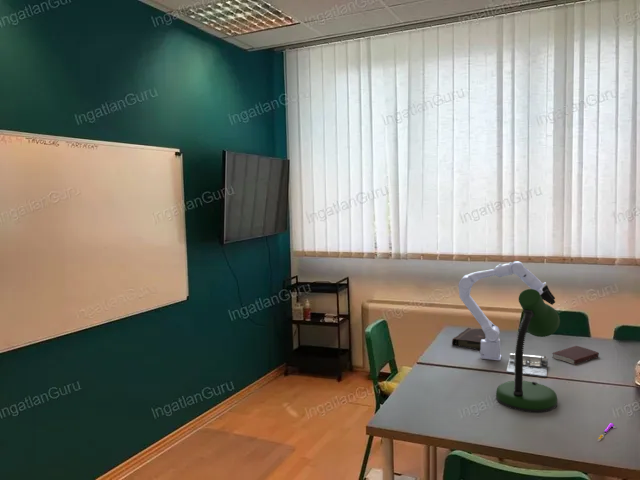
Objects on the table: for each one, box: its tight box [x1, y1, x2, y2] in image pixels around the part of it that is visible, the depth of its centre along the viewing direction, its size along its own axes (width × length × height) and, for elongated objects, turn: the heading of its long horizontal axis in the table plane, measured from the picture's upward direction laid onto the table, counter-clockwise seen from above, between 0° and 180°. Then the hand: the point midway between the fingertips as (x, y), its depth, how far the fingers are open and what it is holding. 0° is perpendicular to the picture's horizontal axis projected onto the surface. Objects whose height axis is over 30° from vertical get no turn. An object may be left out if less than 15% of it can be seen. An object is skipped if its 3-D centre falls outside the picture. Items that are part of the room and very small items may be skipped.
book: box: [551, 345, 600, 365], centre depth 256 cm, size 12×19×3 cm, turn 120°
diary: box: [451, 327, 486, 351], centre depth 284 cm, size 19×25×5 cm
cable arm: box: [509, 352, 549, 364], centre depth 248 cm, size 17×3×3 cm, turn 66°
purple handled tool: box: [597, 422, 615, 440], centre depth 178 cm, size 3×1×16 cm
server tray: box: [506, 357, 548, 378], centre depth 243 cm, size 17×20×2 cm
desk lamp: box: [495, 288, 561, 414], centre depth 207 cm, size 31×23×45 cm
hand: (553, 301), depth 244 cm, fingers open, 7 cm apart
